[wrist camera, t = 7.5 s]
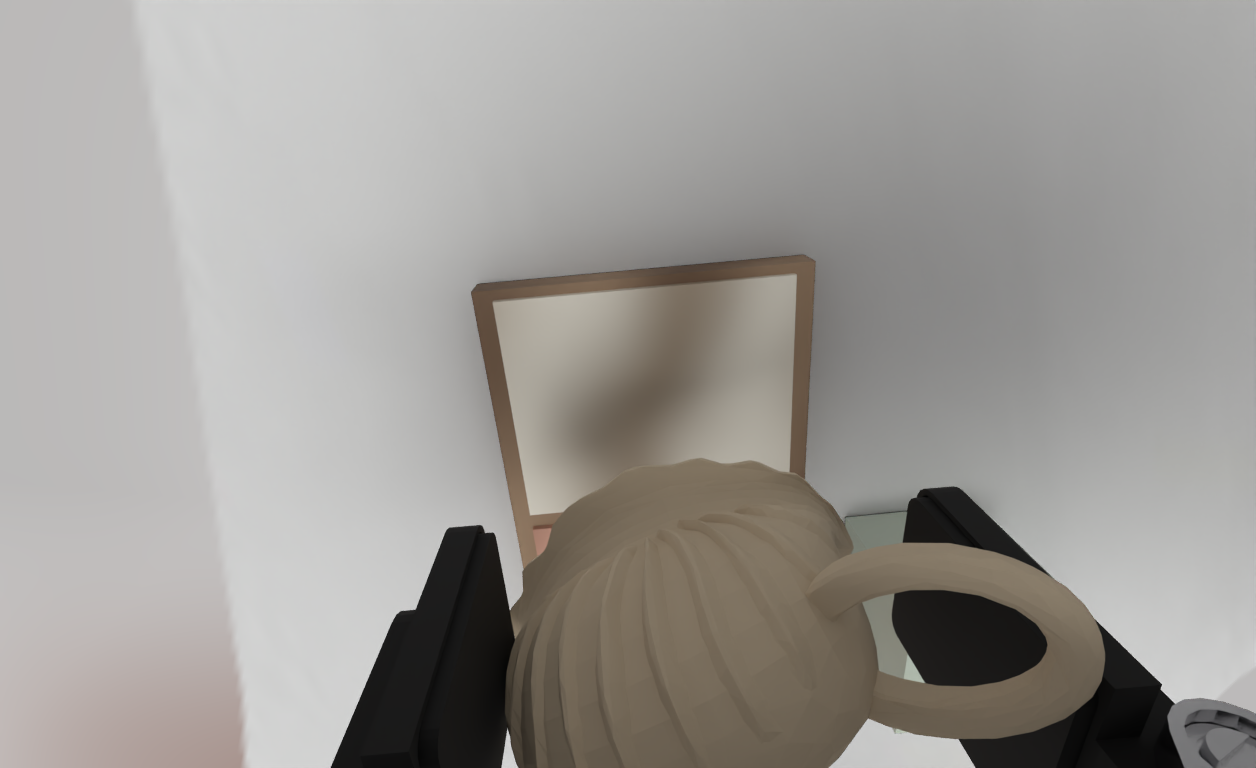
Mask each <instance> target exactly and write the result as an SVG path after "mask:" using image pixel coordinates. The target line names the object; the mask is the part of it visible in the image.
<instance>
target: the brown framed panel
mask: <svg viewBox="0 0 1256 768" xmlns="http://www.w3.org/2000/svg"><path fill="white" fill-rule="evenodd" d="M815 262H816V261H814V260H813V259H811V258H809V257H807V256H805V255H796V256H784V257H773V258H762V259H751V260H740V261H729V262H718V263H707V264H695V265H684V266H673V267H662V268H651V269H640V270H629V271H617V272H606V273H595V274H584V275H573V276H562V277H551V278H539V279H528V280H517V281H506V282H495V283H484V284H477V285H476V287H475V288H474V289H473V290H472V292H471V295H472V300H473V305H474V310H475V316H476V321H477V326H478V331H479V337H480V342H481V347H482V353H483V358H484V363H485V368H486V374H487V379H488V384H489V389H490V395H491V400H492V405H493V410H494V416H495V421H496V426H497V431H498V437H499V442H500V447H501V452H502V458H503V463H504V468H505V473H506V479H507V484H508V489H509V494H510V500H511V505H512V510H513V515H514V521H515V526H516V531H517V536H518V542H519V547H520V552H521V557H522V563H523V568H525V567H526V565H527V564H528V563H529V562H530V561H532V560H533V559H534V558H536V557H537V556H539V555H540V554H541V553H543V551H544V550H545V548H546V547H547V543H548V540H549V536H550V533H551V529H552V525H553V524H554V523H555V522H556V520H557V519H558V518H559V517H560V516H561V514H562V513H563V512H564V511H565V510H566V509H567V508H568V507H569V506H570V505H571V504H573V503H574V502H576V501H577V500H579V499H580V498H582V497H584V496H586V495H588V494H590V493H592V492H594V491H596V490H598V489H600V488H602V487H604V486H605V485H607V484H608V483H609V482H610V481H612V480H613V479H614V478H615V477H617V476H618V475H619V474H620V473H622V472H623V471H625V470H628V469H630V468H633V467H638V466H648V465H673V464H676V463H680V462H683V461H686V460H689V459H696V458H704V459H708V460H711V461H715V462H718V463H737V462H742V461H748V460H752V461H757V462H760V463H762V464H764V465H767V466H769V467H771V468H773V469H776V470H778V471H782V472H791V473H796V474H797V475H799V476H800V477H802V478H803V479H805V462H806V442H807V422H808V402H809V382H810V362H811V342H812V322H813V302H814V282H815Z"/></svg>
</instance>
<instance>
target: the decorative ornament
mask: <svg viewBox="0 0 1256 768" xmlns="http://www.w3.org/2000/svg"><path fill="white" fill-rule="evenodd" d="M853 549H854V547H853V542H852V540H851V538H850V536H849V534H848V531H847V529H846V527H845V525H844V523H843V522H842V520H841V519H840V517H839V516H838V514H837V512H836V511H835V509H834V508H833V506H832V505H831V504H830V503H829V502H827V501H826V500H825V499H823V498H822V497H821V496H820V495H819V494H818V493H817V492H816V491H815V490H814V489H813V488H812V487H811V486H810V485H809V484H808V482H807V481H806V480H805V479H803V478H802V477H800V476H799V475H797V474H796V473H791V472H782V471H778V470H776V469H773V468H771V467H769V466H767V465H764V464H762V463H760V462H757V461H752V460H748V461H742V462H737V463H718V462H715V461H711V460H708V459H704V458H696V459H689V460H686V461H683V462H680V463H676V464H673V465H648V466H638V467H633V468H630V469H628V470H625V471H623V472H622V473H620V474H619V475H618V476H617V477H615V478H614V479H613V480H612V481H610V482H609V483H608V484H607V485H605V486H604V487H602V488H600V489H598V490H596V491H594V492H592V493H590V494H588V495H586V496H584V497H582V498H580V499H579V500H577V501H576V502H574V503H573V504H571V505H570V506H569V507H568V508H567V509H566V510H565V511H564V512H563V513H562V514H561V516H560V517H559V518H558V519H557V520H556V522H555V523H554V524H553V525H552V529H551V533H550V536H549V540H548V543H547V547H546V548H545V550H544V551H543V553H541V554H540V555H539V556H537V557H536V558H534V559H533V560H532V561H530V562H529V563H528V564H527V565H526V567H525V568H524V570H523V572H522V574H523V593H522V596H521V597H520V598H519V600H518V601H517V602H516V603H515V604H514V606H513V607H512V608H511V610H510V615H511V620H512V625H513V631H514V635H515V642H514V645H513V647H512V650H511V654H510V658H509V663H508V667H507V672H506V690H505V716H506V722H507V727H508V731H509V734H510V739H511V747H512V750H513V754H514V757H515V761H516V764H517V766H518V768H829V767H830V766H831V765H832V764H833V763H834V762H835V761H836V760H837V759H838V758H839V757H840V756H841V755H842V753H843V752H844V750H845V749H846V748H847V746H848V745H849V744H850V742H851V741H852V739H853V738H854V737H855V735H856V734H857V733H858V731H859V730H860V729H861V727H862V726H863V724H864V723H865V722H866V720H867V719H868V718H869V719H871V720H874V721H876V722H878V723H881V724H883V725H886V726H889V727H892V728H895V729H899V730H902V731H906V732H909V733H913V734H916V735H924V736H933V737H941V738H951V739H998V738H1003V737H1008V736H1013V735H1019V734H1024V733H1029V732H1034V731H1036V730H1039V729H1041V728H1043V727H1046V726H1048V725H1051V724H1053V723H1056V722H1058V721H1061V720H1063V719H1065V718H1067V717H1068V716H1069V715H1071V714H1072V713H1074V712H1075V711H1076V710H1078V709H1079V708H1080V707H1081V706H1083V705H1084V704H1085V703H1086V702H1087V701H1088V700H1090V699H1091V698H1092V697H1093V695H1094V693H1095V692H1096V690H1097V688H1098V686H1099V685H1100V683H1101V681H1102V676H1103V671H1104V664H1105V650H1104V645H1103V640H1102V635H1101V633H1100V630H1099V628H1098V625H1097V623H1096V621H1095V619H1094V618H1093V616H1092V615H1091V613H1090V612H1089V610H1088V609H1087V608H1086V606H1085V605H1084V604H1083V603H1082V602H1081V601H1080V600H1079V599H1078V598H1077V597H1076V596H1075V595H1074V594H1073V593H1072V592H1071V591H1070V590H1069V589H1068V588H1067V587H1066V586H1064V585H1062V584H1061V583H1059V582H1058V581H1056V580H1054V579H1053V578H1051V577H1050V576H1048V575H1047V574H1045V573H1043V572H1042V571H1040V570H1038V569H1036V568H1034V567H1033V566H1030V565H1028V564H1026V563H1023V562H1021V561H1019V560H1016V559H1014V558H1011V557H1008V556H1005V555H1002V554H999V553H996V552H992V551H987V550H982V549H978V548H972V547H967V546H962V545H956V544H951V543H899V544H892V545H885V546H879V547H874V548H871V549H867V550H864V551H860V552H857V553H854V554H851V552H852V551H853ZM909 590H947V591H954V592H960V593H967V594H973V595H979V596H982V597H985V598H987V599H990V600H993V601H995V602H998V603H1000V604H1003V605H1006V606H1008V607H1011V608H1014V609H1016V610H1017V611H1019V612H1020V613H1022V614H1023V615H1024V616H1026V617H1027V618H1029V619H1030V620H1031V621H1033V622H1034V623H1036V624H1037V626H1038V627H1039V629H1040V630H1041V631H1042V633H1043V634H1044V636H1045V637H1046V640H1047V644H1048V645H1047V651H1046V653H1045V655H1044V657H1043V658H1042V660H1041V661H1040V662H1039V663H1038V664H1037V665H1036V666H1035V667H1033V668H1031V669H1030V670H1028V671H1026V672H1024V673H1023V674H1021V675H1019V676H1016V677H1013V678H1010V679H1007V680H1004V681H1001V682H997V683H991V684H984V685H978V686H972V687H969V686H937V685H932V684H927V683H922V682H917V681H912V680H907V679H902V678H899V677H896V676H892V675H889V674H886V673H884V672H881V671H879V667H878V657H877V647H876V644H875V640H874V636H873V632H872V629H871V625H870V622H869V619H868V617H867V614H866V611H865V609H864V606H863V604H862V602H865V601H867V600H870V599H873V598H876V597H879V596H884V595H889V594H894V593H899V592H904V591H909Z"/></svg>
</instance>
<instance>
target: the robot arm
mask: <svg viewBox="0 0 1256 768" xmlns="http://www.w3.org/2000/svg"><path fill="white" fill-rule="evenodd" d="M902 543H951V544H956V545H962V546H967V547H972V548H978V549H982V550H987V551H992V552H996V553H999V554H1002V555H1005V556H1008V557H1011V558H1014V559H1016V560H1019V561H1021V562H1023V563H1026V564H1028V565H1030V566H1033V567H1034V568H1036V569H1038V570H1040V571H1042V572H1043V573H1045V574H1047V575H1048V576H1050V575H1049V574H1048V573H1047V572H1046V571H1045V570H1044V569H1043V568H1042V567H1041V566H1040V565H1038V564H1037V563H1036V562H1035V561H1034V560H1033V559H1032V558H1031V557H1030V556H1029V555H1028V554H1027V553H1026V552H1025V551H1024V550H1023V549H1022V548H1021V547H1020V546H1019V545H1018V544H1017V543H1016V542H1015V541H1014V540H1013V539H1012V538H1011V537H1010V536H1009V535H1008V534H1007V533H1006V532H1005V531H1004V530H1003V529H1001V528H1000V527H999V526H998V525H997V524H996V523H995V522H994V521H993V520H992V519H991V518H990V517H989V516H988V515H987V514H986V513H985V512H984V511H983V510H982V509H981V508H980V507H979V506H978V505H977V504H976V503H975V502H974V501H973V500H972V499H971V498H970V497H969V496H968V495H967V494H966V493H964V492H963V491H962V490H961V489H960V488H958V487H942V488H930V489H923V490H920V492H919V493H918V495H917V498H913V499H911V500H910V502H909V504H908V510H907V516H906V523H905V529H904V536H903V542H902ZM1050 577H1051V576H1050ZM1051 578H1052V577H1051ZM1095 621H1096V620H1095ZM892 623H893V628H894V630H895V633H896V635H897V637H898V639H899V640H900V642H901V644H902V645H903V647H904V649H905V650H906V652H907V654H908V655H909V657H910V659H911V660H912V662H913V664H914V665H915V667H916V669H917V670H918V672H919V674H920V675H921V677H922V679H923V680H924V682H925V683H927V684H932V685H937V686H969V687H972V686H978V685H984V684H991V683H997V682H1001V681H1004V680H1007V679H1010V678H1013V677H1016V676H1019V675H1021V674H1023V673H1024V672H1026V671H1028V670H1030V669H1031V668H1033V667H1035V666H1036V665H1037V664H1038V663H1039V662H1040V661H1041V660H1042V658H1043V657H1044V655H1045V653H1046V651H1047V645H1048V644H1047V640H1046V637H1045V636H1044V634H1043V633H1042V631H1041V630H1040V629H1039V627H1038V626H1037V624H1036V623H1034V622H1033V621H1031V620H1030V619H1029V618H1027V617H1026V616H1024V615H1023V614H1022V613H1020V612H1019V611H1017V610H1016V609H1014V608H1011V607H1008V606H1006V605H1003V604H1000V603H998V602H995V601H993V600H990V599H987V598H985V597H982V596H979V595H973V594H967V593H960V592H954V591H947V590H909V591H904V592H899V593H895V594H894V600H893V607H892ZM1096 623H1097V625H1098V628H1099V630H1100V633H1101V635H1102V640H1103V645H1104V650H1105V664H1104V671H1103V676H1102V681H1101V683H1100V685H1099V686H1098V688H1097V690H1096V692H1095V693H1094V695H1093V697H1092V698H1091V699H1090V700H1088V701H1087V702H1086V703H1085V704H1084V705H1083V706H1081V707H1080V708H1079V709H1078V710H1076V711H1075V712H1074V713H1072V714H1071V715H1069V716H1068V717H1067V718H1065V719H1063V720H1061V721H1058V722H1056V723H1053V724H1051V725H1048V726H1046V727H1043V728H1041V729H1039V730H1036V731H1034V732H1029V733H1024V734H1019V735H1013V736H1008V737H1003V738H998V739H959V741H960V742H961V744H962V746H963V747H964V749H965V751H966V752H967V754H968V756H969V757H970V759H971V761H972V762H973V764H974V766H975V768H1256V714H1255V713H1253V712H1251V711H1249V710H1246V709H1243V708H1240V707H1237V706H1234V705H1231V704H1229V703H1226V702H1222V701H1216V700H1210V699H1204V698H1198V699H1184V700H1182V701H1180V702H1178V703H1177V704H1175V703H1174V702H1173V701H1172V700H1171V699H1170V698H1169V697H1167V696H1166V695H1165V694H1164V693H1163V692H1162V691H1161V690H1160V689H1161V686H1162V684H1161V683H1160V682H1159V681H1158V680H1157V679H1156V678H1155V677H1154V676H1153V675H1152V674H1150V673H1149V672H1148V671H1147V670H1146V669H1145V668H1144V667H1143V666H1142V665H1141V664H1140V663H1139V662H1138V661H1137V660H1136V659H1135V658H1134V657H1133V656H1132V655H1131V654H1130V653H1129V652H1128V651H1127V650H1126V649H1125V648H1124V647H1123V646H1122V645H1121V644H1120V643H1119V642H1118V641H1117V640H1116V639H1115V638H1113V637H1112V636H1111V635H1110V634H1109V633H1108V632H1107V631H1106V630H1105V629H1104V628H1103V627H1102V626H1101V625H1100V624H1099V623H1098V622H1097V621H1096ZM514 642H515V636H514V631H513V625H512V620H511V615H510V610H509V604H508V599H507V594H506V589H505V583H504V578H503V573H502V568H501V562H500V557H499V552H498V546H497V541H496V537H495V534H494V533H485V532H484V529H483V527H482V526H481V525H476V526H464V527H452V528H448V529H447V531H446V532H445V535H444V537H443V540H442V543H441V545H440V548H439V551H438V553H437V556H436V558H435V561H434V564H433V566H432V569H431V571H430V574H429V577H428V579H427V582H426V584H425V587H424V590H423V592H422V595H421V597H420V600H419V603H418V605H417V608H416V610H409V611H401V612H399V613H398V614H397V615H396V617H395V618H394V620H393V622H392V624H391V626H390V629H389V631H388V633H387V636H386V638H385V640H384V643H383V645H382V648H381V650H380V652H379V655H378V657H377V659H376V662H375V664H374V666H373V669H372V671H371V674H370V676H369V678H368V681H367V683H366V685H365V688H364V690H363V692H362V695H361V697H360V700H359V702H358V704H357V707H356V709H355V711H354V714H353V716H352V718H351V721H350V723H349V726H348V728H347V730H346V733H345V735H344V737H343V740H342V742H341V744H340V747H339V749H338V752H337V754H336V756H335V759H334V761H333V763H332V766H331V768H501V766H502V760H503V753H504V747H505V740H506V733H507V722H506V716H505V690H506V672H507V667H508V663H509V658H510V654H511V650H512V647H513V645H514Z"/></svg>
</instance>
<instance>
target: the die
mask: <svg viewBox="0 0 1256 768" xmlns="http://www.w3.org/2000/svg"><path fill="white" fill-rule="evenodd" d="M906 516H907V511H906V512H896V513H885V514H875V515H865V516H855V517H846V519H845V527H846V529H847V531H848V534H849V536H850V538H851V540H852V542H853V547H854V549H853V551H852V552H851V554H854V553H857V552H860V551H864V550H867V549H871V548H874V547H879V546H885V545H892V544H899V543H902V542H903V536H904V529H905V523H906ZM995 523H996V522H995ZM996 524H997V523H996ZM997 525H998V524H997ZM998 526H999V525H998ZM999 527H1000V526H999ZM1000 528H1001V527H1000ZM1001 529H1002V528H1001ZM1022 549H1023V548H1022ZM1023 550H1024V549H1023ZM1024 551H1025V550H1024ZM1025 552H1026V551H1025ZM1026 553H1027V552H1026ZM1027 554H1028V553H1027ZM1028 555H1029V554H1028ZM1029 556H1030V555H1029ZM1030 557H1031V556H1030ZM1031 558H1032V557H1031ZM1032 559H1033V558H1032ZM1033 560H1034V559H1033ZM1034 561H1035V560H1034ZM1035 562H1036V561H1035ZM1036 563H1037V562H1036ZM1037 564H1038V563H1037ZM1038 565H1039V564H1038ZM1049 575H1050V574H1049ZM1050 576H1051V575H1050ZM1051 577H1052V576H1051ZM1052 578H1053V577H1052ZM1053 579H1054V578H1053ZM1054 580H1055V579H1054ZM894 594H895V593H894ZM894 594H889V595H884V596H879V597H876V598H873V599H870V600H867V601H865V602H862V604H863V606H864V609H865V611H866V614H867V617H868V619H869V622H870V625H871V629H872V632H873V636H874V640H875V644H876V647H877V657H878V667H879V671H881V672H884V673H886V674H889V675H892V676H896V677H899V678H902V679H907V680H912V681H917V682H922V683H925V682H924V680H923V679H922V677H921V675H920V674H919V672H918V670H917V669H916V667H915V665H914V664H913V662H912V660H911V659H910V657H909V655H908V654H907V652H906V650H905V649H904V647H903V645H902V644H901V642H900V640H899V639H898V637H897V635H896V633H895V630H894V628H893V623H892V607H893V600H894ZM893 730H894V732H895V734H897V733H907V732H906V731H902V730H899V729H895V728H893Z"/></svg>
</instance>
